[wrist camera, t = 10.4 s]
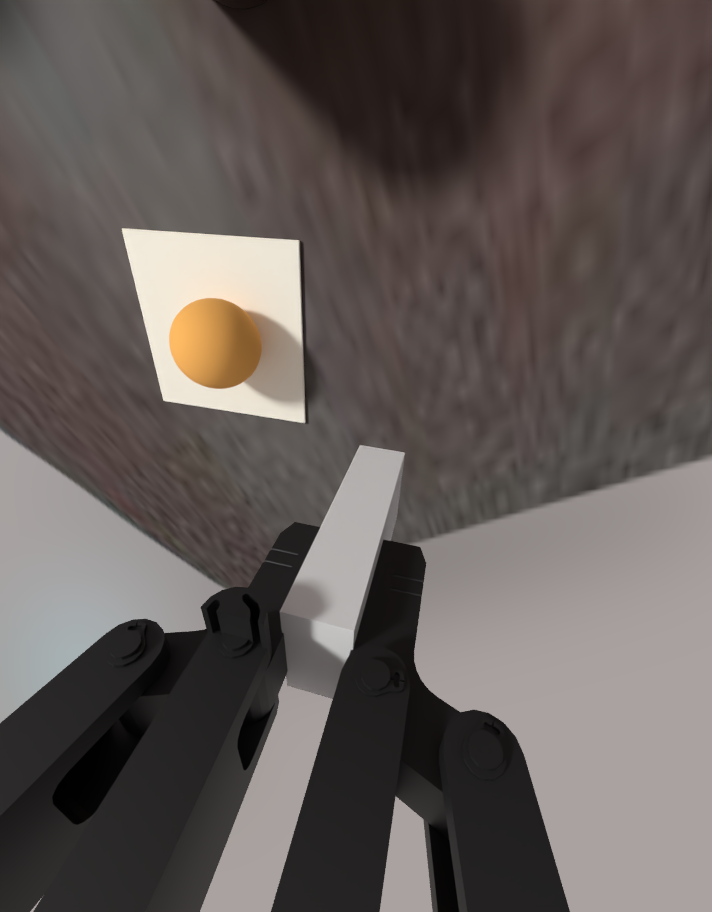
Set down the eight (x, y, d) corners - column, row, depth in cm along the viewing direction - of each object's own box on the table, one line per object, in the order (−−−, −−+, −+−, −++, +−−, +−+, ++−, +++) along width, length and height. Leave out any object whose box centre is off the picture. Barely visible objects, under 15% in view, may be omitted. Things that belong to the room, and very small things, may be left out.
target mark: (299, 240, 23) (298, 240, 23) (305, 421, 30) (304, 423, 30) (123, 228, 25) (121, 228, 25) (165, 399, 32) (163, 400, 32)
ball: (247, 288, 27) (267, 306, 22) (255, 366, 30) (274, 395, 25) (157, 291, 25) (161, 312, 20) (175, 375, 28) (182, 408, 23)
